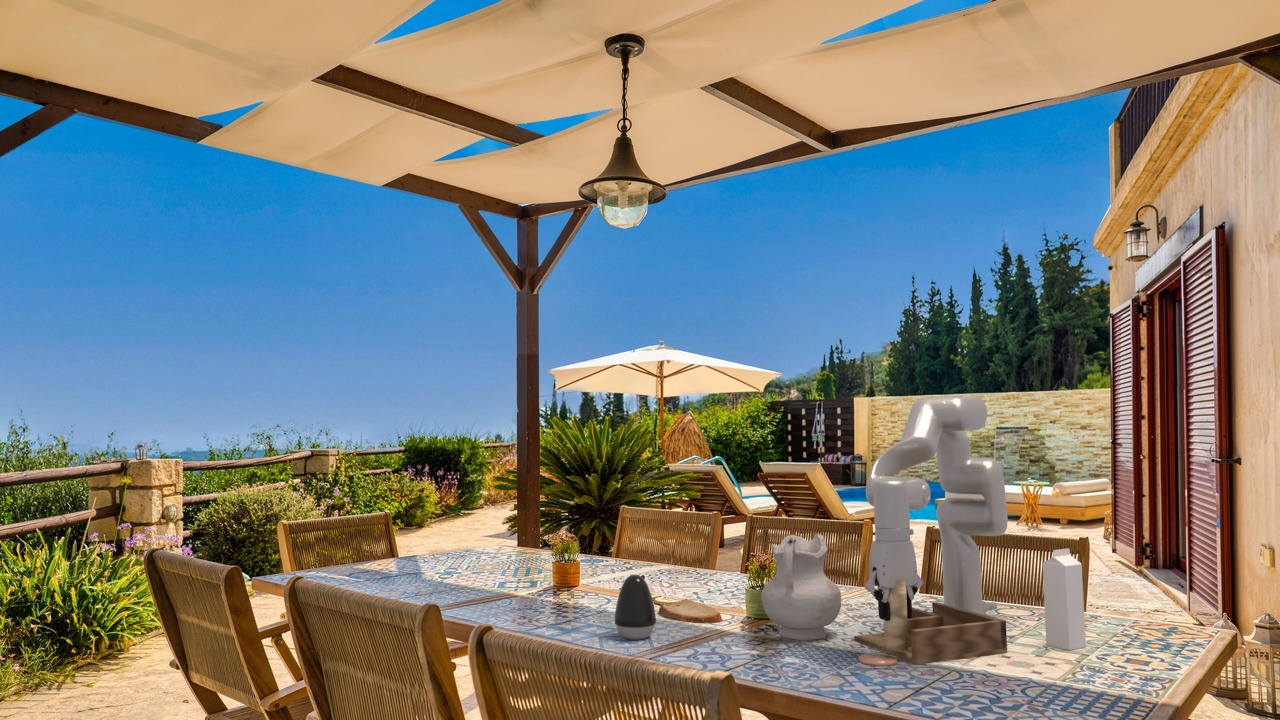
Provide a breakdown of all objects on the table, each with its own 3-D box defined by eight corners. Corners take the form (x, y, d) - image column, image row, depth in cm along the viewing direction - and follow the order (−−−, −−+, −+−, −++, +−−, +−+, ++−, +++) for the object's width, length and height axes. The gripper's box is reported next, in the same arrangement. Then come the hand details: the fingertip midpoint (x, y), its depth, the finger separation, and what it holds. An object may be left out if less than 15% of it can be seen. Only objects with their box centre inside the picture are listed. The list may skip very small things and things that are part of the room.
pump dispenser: (663, 634, 221) (662, 572, 222) (645, 644, 212) (644, 579, 213) (626, 631, 225) (625, 570, 226) (607, 640, 216) (607, 576, 217)
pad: (882, 655, 198) (882, 652, 198) (904, 663, 191) (904, 660, 191) (851, 658, 196) (851, 655, 196) (872, 667, 188) (872, 664, 188)
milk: (1086, 647, 203) (1082, 549, 204) (1069, 650, 200) (1065, 551, 201) (1062, 641, 208) (1058, 546, 210) (1045, 645, 205) (1041, 548, 207)
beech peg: (899, 643, 198) (896, 575, 200) (913, 648, 194) (910, 579, 195) (880, 645, 197) (877, 577, 198) (894, 651, 192) (891, 581, 193)
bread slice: (722, 624, 232) (722, 610, 233) (654, 624, 234) (654, 609, 235) (724, 610, 250) (723, 596, 250) (660, 609, 252) (660, 596, 252)
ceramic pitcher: (840, 653, 205) (845, 544, 207) (755, 643, 209) (761, 536, 211) (838, 632, 226) (843, 533, 228) (761, 623, 230) (767, 526, 232)
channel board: (938, 630, 221) (937, 602, 221) (1007, 652, 199) (1005, 621, 199) (854, 640, 212) (853, 610, 213) (916, 664, 190) (915, 631, 191)
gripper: (913, 531, 203) (916, 612, 202) (850, 535, 198) (852, 618, 196) (935, 535, 196) (938, 618, 195) (869, 539, 191) (872, 625, 189)
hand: (895, 617), depth 196 cm, fingers closed on beech peg, 5 cm apart
